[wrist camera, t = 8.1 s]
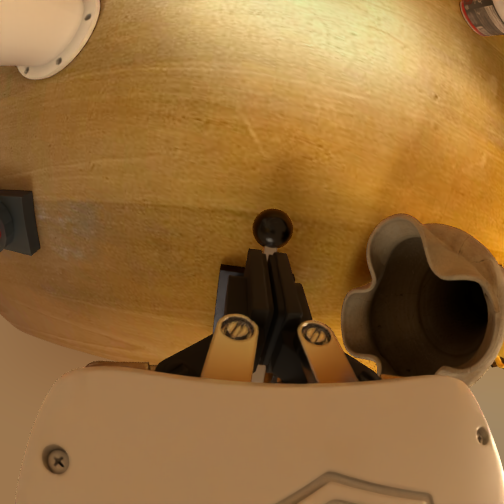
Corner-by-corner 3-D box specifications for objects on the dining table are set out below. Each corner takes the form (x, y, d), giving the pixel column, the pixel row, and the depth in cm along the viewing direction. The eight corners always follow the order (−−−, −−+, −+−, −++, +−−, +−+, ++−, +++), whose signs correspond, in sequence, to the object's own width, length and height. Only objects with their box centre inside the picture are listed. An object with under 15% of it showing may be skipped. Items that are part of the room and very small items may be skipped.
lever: (253, 208, 24) (257, 202, 21) (290, 214, 25) (299, 209, 21) (230, 375, 24) (230, 392, 21) (264, 378, 25) (269, 395, 21)
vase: (570, 258, 15) (555, 267, 6) (511, 388, 21) (403, 489, 13) (468, 213, 34) (347, 188, 26) (434, 325, 41) (310, 358, 33)
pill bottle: (468, -5, 11) (515, -16, 2) (491, 30, 13) (541, 27, 4) (452, 4, 13) (504, -9, 4) (477, 42, 15) (532, 39, 6)
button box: (-6, 237, 27) (-22, 249, 23) (-15, 188, 23) (-32, 198, 20) (40, 248, 28) (23, 262, 24) (32, 191, 24) (12, 202, 21)
